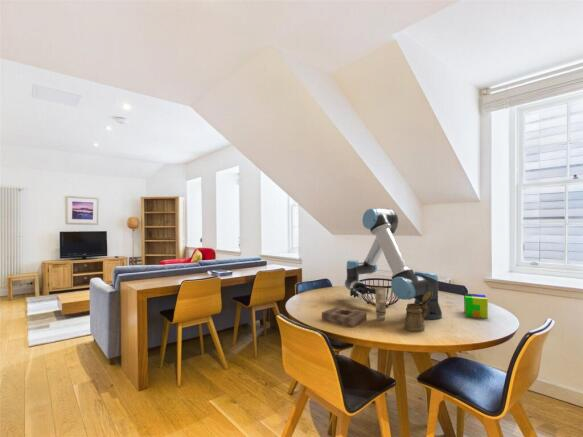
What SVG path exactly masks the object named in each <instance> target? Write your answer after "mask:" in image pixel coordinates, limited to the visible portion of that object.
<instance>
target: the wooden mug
mask: <svg viewBox="0 0 583 437" xmlns="http://www.w3.org/2000/svg"><path fill="white" fill-rule="evenodd" d="M432 295H433V291H432V290H431V291H429V292H427V293H426V294H425V295H424V296H423V299H422V303H419V305H418V304H414V303H412V302H411V303H407V305H406V308H405V311H406V314H405V323H404V326H403V329H405V330H406V331H409V332H416V333H417V332H420V333H421V332H424V331H425V324H424V320H425V319H424V318H425V316H426V314H427V312H428V307H427V304H426V303H427V302H428V301H429V300H430V299H431V298H432ZM421 308H423V309H424V312H423V313H422V309H421Z"/></svg>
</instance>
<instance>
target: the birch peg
mask: <svg viewBox="0 0 583 437" xmlns="http://www.w3.org/2000/svg"><path fill="white" fill-rule="evenodd" d="M375 288H376V294H375V314H376V320H378V321H380V322H381V321H385V320H386V317H385V316H386V315H387V308H386V304H387V302H386V300H387V299H386V298H387V296H386V295H387V294H386V292H387V291H386V287H375Z"/></svg>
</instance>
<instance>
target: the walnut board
mask: <svg viewBox="0 0 583 437" xmlns="http://www.w3.org/2000/svg"><path fill="white" fill-rule="evenodd" d="M367 314H368V313H367V312H366V311H362V310H361V311H360V310H356V309H350V308H345V307H341V306H334V307H332V308H329V309H326V310H323V311H322V312H321V321H324V322H329V323H333V324H336V325H340V326H346V327H350V328H355V327H357V326H358V325H361V324H363V323H364V322H366V321H368V320H367Z"/></svg>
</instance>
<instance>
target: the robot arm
mask: <svg viewBox="0 0 583 437" xmlns="http://www.w3.org/2000/svg"><path fill="white" fill-rule="evenodd" d="M362 225H363V227H364V228H365V229H367V230H369V231H370V233H371V235H372V236H375V238H374V241H373V243H372V245H371V247H370V249H369V251H368V253H367V255H366V257H365V259H364V261H363V262H359V260H357V259H356V260H355V259H349V260H347V262H346V279H345V281H344V286H345V288H346V289H348V290H349V291H350V292H349V294H350V295H349V296H350V297H353V298H356V297H357V298H358V299H360V300H362V298H363V295H365V294H367V295H370V294H371V295H373V294H374V295H376V288H377V287H367V286H366V284H365V283H364V282H361V281H359V278H360V277H359V276H360V275H369V274H374V273H376V272H377V271H378V265H377V263H378V261H379V259H380V258H381V255H382V254H383V255H384V258H385V259H386V262H387V264H388V266H389V268H390V270H391V273H392V275H391V281H390V282H391V283H390V284H391V285H390V288H391V292H392V293H393V295H395V297H396V298H398V299H400V300H404V301H407V300H412V299H414V301H413V304H418V305H419V303H422V299H423V296H424V295H425V294H426V293H427V292H429V291H431V290H432V291H433V295H432V298H431V299H430V300H429V301H428V302H427V303H426V304H427V307H428V312H427V314H426V316H425V318H424V320H439V319H442V318H443V311H442V308H441V306H440V302H439V276H438V274H437V273H434V272H427V271H417V270H416V271H414V270H413V269H412V268H410V267H408V264H407V262H406V260H405V258H404V255H403V254H402V252H401V249H400V247H399V246H398V244H397V242H396V240H395V237H394V234H395V232H396V230H397V229H398V225H399V217H398V214H397V213H396V211H394V210H393V209H390V208H376V207H373V208H368V209H366V210H365V212H364V213H363V215H362ZM421 309H422V313H423V312H424V309H423V308H421Z"/></svg>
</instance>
